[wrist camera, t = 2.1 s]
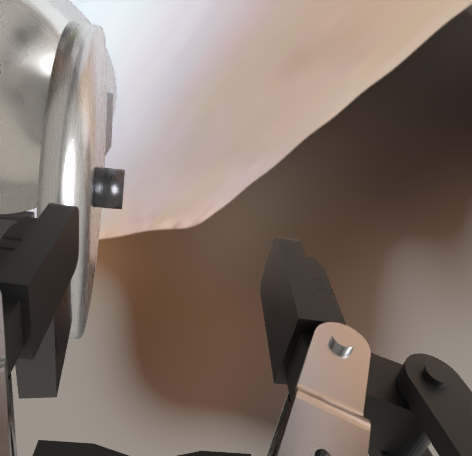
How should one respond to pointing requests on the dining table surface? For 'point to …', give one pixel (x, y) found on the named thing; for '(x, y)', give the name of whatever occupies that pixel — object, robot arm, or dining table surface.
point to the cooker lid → (73, 187)
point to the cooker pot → (30, 96)
